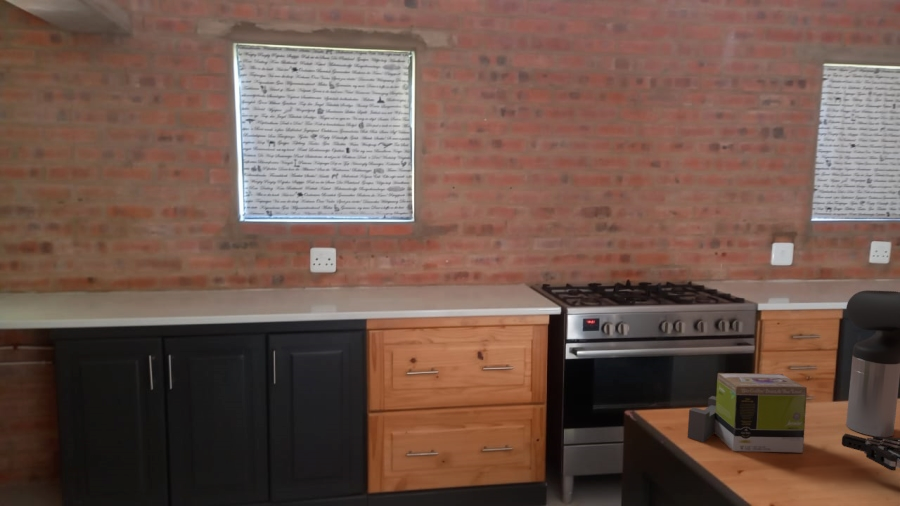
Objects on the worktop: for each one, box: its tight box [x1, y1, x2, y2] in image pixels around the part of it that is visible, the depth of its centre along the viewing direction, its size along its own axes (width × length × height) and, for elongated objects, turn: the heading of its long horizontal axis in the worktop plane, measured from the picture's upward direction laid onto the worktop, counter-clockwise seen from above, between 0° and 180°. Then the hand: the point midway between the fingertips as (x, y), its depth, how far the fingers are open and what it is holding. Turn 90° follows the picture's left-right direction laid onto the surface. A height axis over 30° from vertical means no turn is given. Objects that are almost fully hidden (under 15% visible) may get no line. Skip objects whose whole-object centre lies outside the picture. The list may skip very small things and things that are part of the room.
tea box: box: [714, 372, 808, 454], centre depth 130 cm, size 15×10×15 cm, turn 89°
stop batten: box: [687, 395, 716, 443], centre depth 136 cm, size 14×4×6 cm, turn 136°
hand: (842, 439), depth 117 cm, fingers closed
